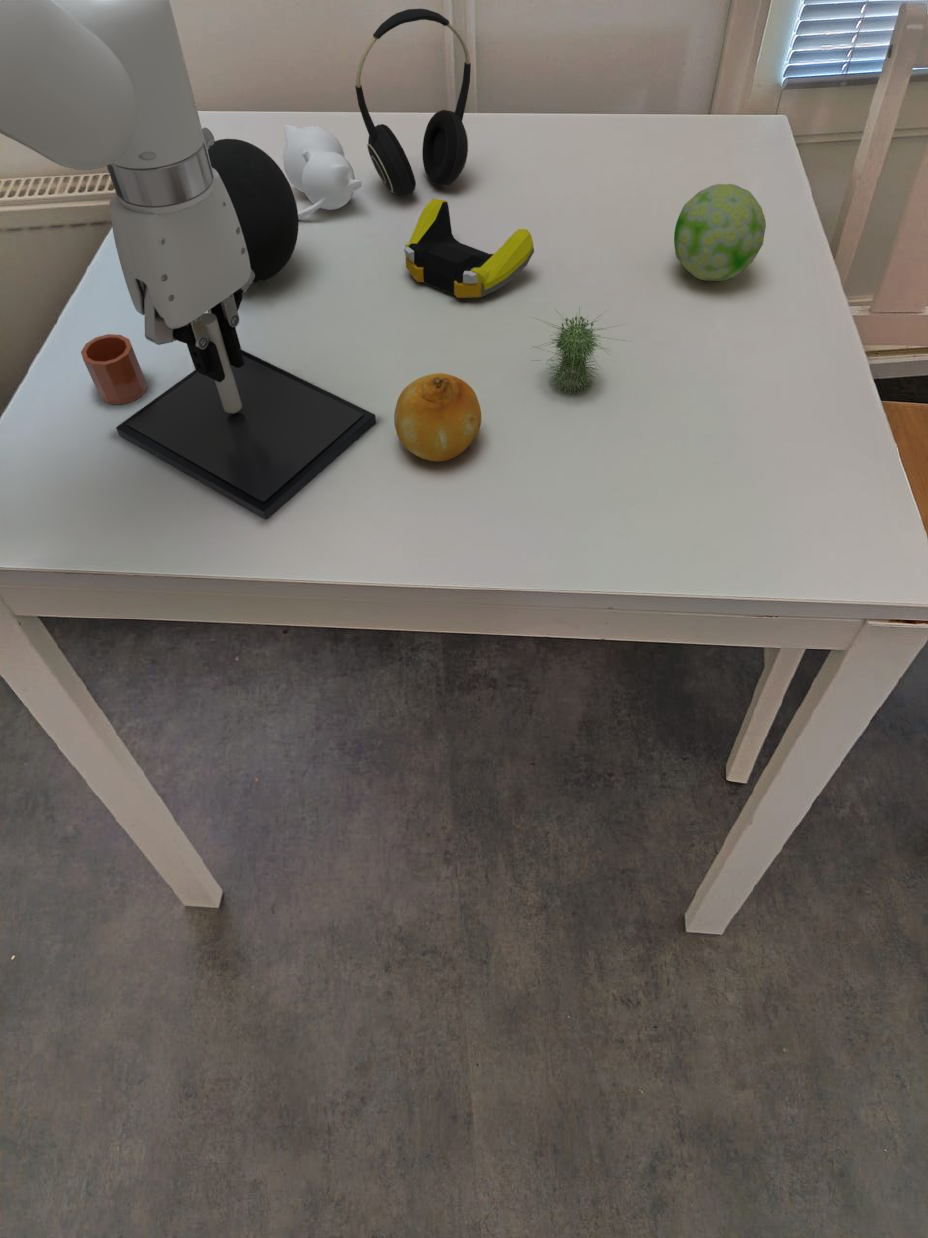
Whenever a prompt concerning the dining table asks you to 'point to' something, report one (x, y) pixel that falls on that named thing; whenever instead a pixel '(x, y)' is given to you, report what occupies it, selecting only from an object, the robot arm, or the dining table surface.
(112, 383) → the pen cup
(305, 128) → the cat figurine
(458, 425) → the fruit
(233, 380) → the stylus
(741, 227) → the decorative ball
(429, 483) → the dining table surface
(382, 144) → the headphones
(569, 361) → the small spiny cactus
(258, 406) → the tablet
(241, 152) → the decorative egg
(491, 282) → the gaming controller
